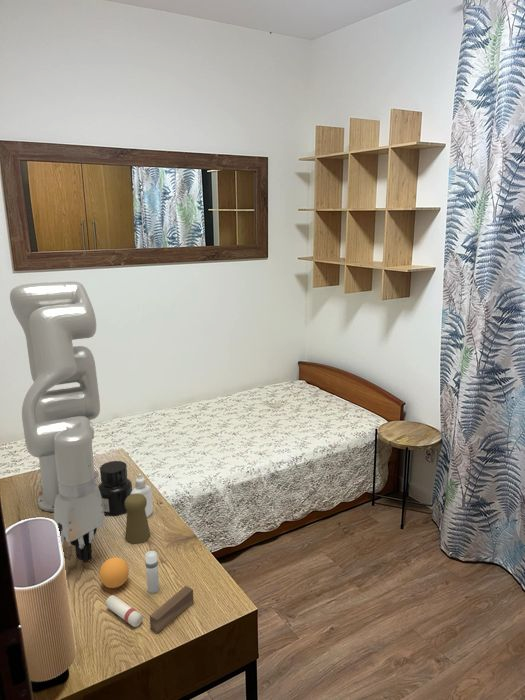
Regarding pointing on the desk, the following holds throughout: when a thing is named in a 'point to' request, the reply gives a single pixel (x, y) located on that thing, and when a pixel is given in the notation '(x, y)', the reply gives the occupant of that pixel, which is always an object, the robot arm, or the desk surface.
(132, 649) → the desk surface
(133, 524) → the olive pawn
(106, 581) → the ball
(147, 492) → the eye dropper bottle
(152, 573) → the rear pin
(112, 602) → the front pin
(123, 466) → the ink bottle
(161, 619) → the rail
